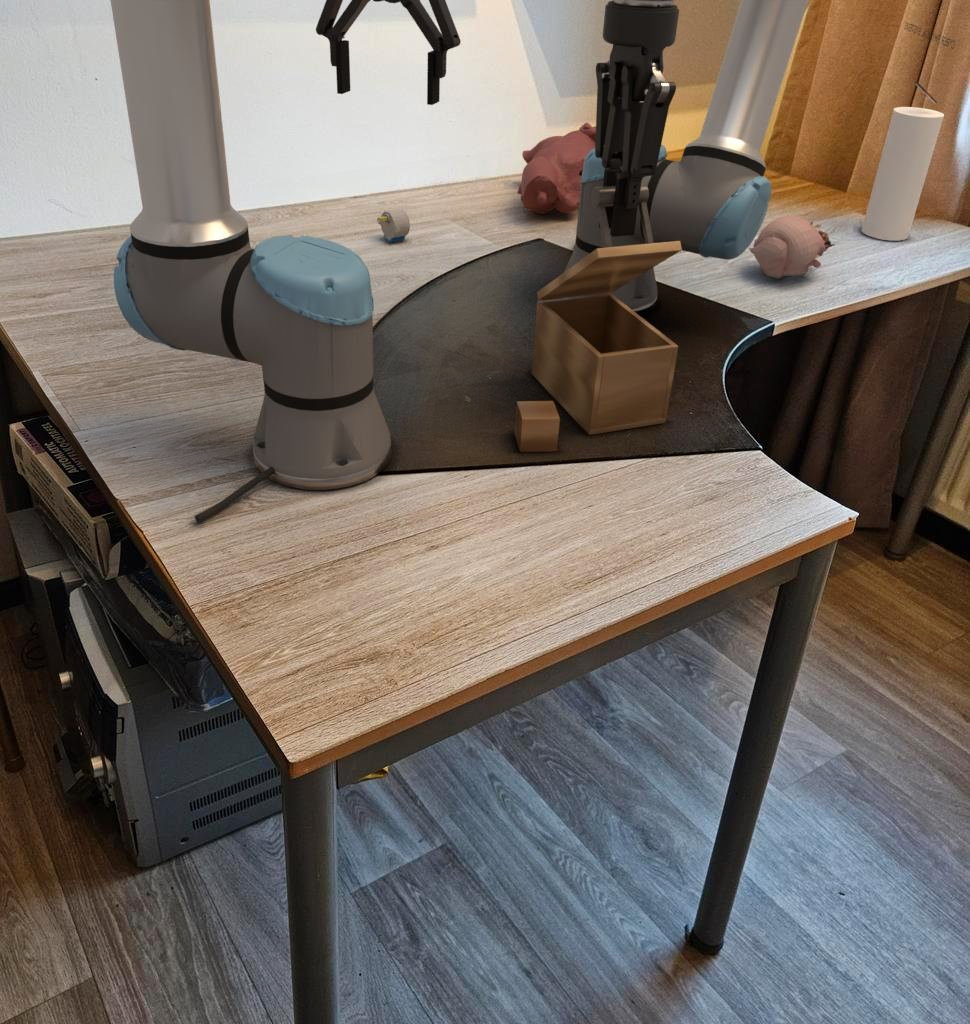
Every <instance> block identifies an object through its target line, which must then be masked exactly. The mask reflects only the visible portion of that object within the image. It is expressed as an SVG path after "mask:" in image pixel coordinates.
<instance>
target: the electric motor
mask: <svg viewBox="0 0 970 1024" xmlns="http://www.w3.org/2000/svg"><path fill="white" fill-rule="evenodd" d="M376 222H377V224H378V225H380V227H381V231H382V233H383V238H384V240H385V241H388V242H389V243H394V242H395V243H396V242H399V241H404V240H405V238H406V236H407V235H409V233H410V229H411V222H410V218H409V216H408V213H407V212H406V210H404V209H403V208H397V209H392V210H387V211H384V212H383V213H382V214H381V216H378V217H377V218H376Z"/></svg>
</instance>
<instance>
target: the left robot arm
mask: <svg viewBox="0 0 970 1024" xmlns="http://www.w3.org/2000/svg"><path fill="white" fill-rule="evenodd" d="M343 1H344V0H325V3H324V5H323V8H322V11H321V13H320V16H319V19H318V22H317V24H316V27H315V33H316V34H317V35H318V36H323V37H324V38H326V39H327V40H328V42H329V54H330V56H329V57H330V65H331V67H335V70H336V71H335V72H336V94H339V95H343V94H346V93H349V92H351V67H350V66H351V63H350V41H349V40H345V38H346V36H345V35H347V33H348V31H349V30H350V29H351V27H352V26H353V24H354V23H355V21H356V20H357V19H358V18H359V16H360V14H361V13H362V12H363V10H364V9H365V8H366V6H367V5H368V4H369V3H370V2H371V1H372V2H377V3H380V2H384V1H385V2H387V3H389V4H398V3H400V4H401V5H402V7H403V8H405V9H406V10H407V12H408V13H409V15H410V17H411V18H412V20H413V21H414V22H415V24H416V26H417V27H418V29H419V31H420V32H421V33H422V35H423V36H424V38H425V39H426V40H427V43H428V44H429V46H430V47H431V48H432V50H431V51H428V52H427V74H426V75H427V79H426V80H427V85H426V87H427V88H426V105H429V106H433V105H435V104H438V103H440V93H441V92H440V91H441V90H440V89H441V87H440V86H441V83H440V81H441V79H443V78H445V77H446V74H447V54H448V51H449V50H451V49H454V48H457V47H459V46H460V45H461V42H462V41H461V38H460V35H459V33H458V30H457V27H456V24H455V22H454V19H453V17H452V14H451V11H450V9H449V7H448V4H447V1H446V0H428V2H429V5H430V8H431V10H432V13H433V15H434V18H435V21H436V23H437V25H438V26H437V25H436V23H435V22H434V20H433V19H432V17H431V15H429V13H428V11H427V9H426V8H425V6H424V5H423V3H422V2H421V0H351V1H350V2H349V3H348V5H347V6H346V8H345V9H344V11H343V12H342V14H341V15H340V16H339V18H338V19H337V17H338V14H339V12H340V9H341V6H342V4H343ZM110 6H111V12H112V19H113V20H112V21H113V27H114V31H115V39H116V45H117V52H118V59H119V64H120V70H121V77H122V84H123V90H124V96H125V97H124V98H125V103H126V110H127V116H128V122H129V123H128V124H129V129H130V136H131V142H132V149H133V156H134V161H135V169H136V175H137V180H138V187H139V194H140V199H141V206H142V210H141V211H140V212H139V214H138V215H137V216H136V217H135V218H134V220H133V221H132V222H131V224H130V225H129V232H130V236H128V237H127V238H126V239H125V240H124V241H123V243H122V244H121V246H120V247H119V249H118V252H117V256H116V260H117V261H118V265H117V266H114V268H113V288H114V294H115V298H116V302H117V305H118V307H119V310H120V312H121V315H122V316H123V318H124V319H125V321H126V323H127V324H128V325H129V327H130V328H131V329H133V331H134V332H136V333H137V334H138V335H139V336H141V337H143V338H144V339H145V340H148V341H150V342H154V343H157V344H161V345H164V346H167V347H169V348H171V349H174V350H178V351H191V352H197V353H202V354H207V355H211V356H216V357H222V358H226V359H231V360H236V361H242V362H248V363H251V364H252V363H253V364H257V365H259V366H261V370H262V379H263V388H264V390H263V391H264V396H263V400H262V404H261V408H260V412H259V415H258V419H257V423H256V427H255V430H254V434H253V439H252V441H253V442H252V455H253V460H254V464H255V467H256V468H257V470H258V471H259V472H260V474H257V475H256V476H255V477H253V478H252V479H251V480H249V481H248V482H246V483H245V484H243V485H242V486H240V487H239V488H238V489H236V490H235V491H233V492H232V493H230V494H229V495H228V496H227V497H225V498H224V499H221V500H220V501H219V502H217V503H216V504H215V505H213V506H211V507H209V508H207V509H205V510H203V511H201V512H200V513H198V514H195V515H194V520H195V521H196V522H197V523H201V522H202V521H204V520H206V519H208V518H210V517H212V516H214V515H215V514H217V513H219V512H220V511H222V510H223V509H225V508H227V507H228V506H230V505H231V504H232V503H233V502H235V501H237V500H238V499H239V498H240V497H242V496H243V495H245V494H246V493H247V492H249V491H251V490H252V489H254V488H255V487H256V486H258V485H259V484H261V483H262V482H264V481H265V480H266V479H269V480H271V481H273V482H275V483H278V484H280V485H283V486H286V487H290V488H295V489H301V490H312V491H314V490H315V491H323V490H327V491H328V490H337V489H342V488H348V487H351V486H355V485H358V484H361V483H363V482H366V481H368V480H370V479H373V478H374V477H375V476H377V475H378V474H380V473H381V472H382V471H383V470H384V469H385V468H386V467H387V466H388V464H389V463H390V461H391V458H392V438H391V432H390V430H389V427H388V424H387V422H386V419H385V417H384V413H383V411H382V408H381V406H380V403H379V400H378V398H377V395H376V393H375V385H374V320H373V319H374V318H373V317H374V315H373V314H374V308H375V301H374V297H373V292H372V283H371V275H370V270H369V267H368V266H367V264H366V263H365V262H364V260H363V259H362V258H361V257H360V256H359V254H357V253H356V252H355V251H353V250H352V249H351V248H348V247H346V246H345V245H343V244H340V243H338V242H335V241H331V240H329V239H324V238H322V237H317V236H310V235H300V236H299V237H296V236H293V235H288V234H287V235H279V236H273V237H269V238H265V239H264V240H262V241H260V242H259V243H258V244H257V245H255V247H254V248H253V247H251V242H250V241H251V240H250V233H249V223H248V220H247V219H246V218H245V216H243V215H242V214H240V213H239V212H238V211H237V210H236V209H234V207H233V206H232V203H231V194H230V185H229V183H230V182H229V175H228V174H229V173H228V165H227V156H226V155H227V154H226V146H225V137H224V129H223V128H224V127H223V118H222V117H223V115H222V106H221V97H220V88H219V78H218V67H217V59H216V57H217V56H216V49H215V40H214V30H213V29H214V28H213V21H212V20H213V19H212V11H211V2H210V0H110ZM336 19H337V21H336Z"/></svg>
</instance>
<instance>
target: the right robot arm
mask: <svg viewBox="0 0 970 1024" xmlns="http://www.w3.org/2000/svg"><path fill="white" fill-rule="evenodd" d="M674 1H675V0H609V1H608V2H607V4H605V7H604V15H603V26H602V28H603V29H602V39H603V41H604V42H605V43H607V44H610V45H612V48H611V51H610V54H609V60H607V61H606V62H597V63H596V65H595V75H596V85H597V90H596V91H597V92H596V113H595V114H596V115H595V116H596V117H595V118H596V119H595V126H596V138H595V148H594V149H592V150H591V151H590V152H589V153H588V154H587V155H586V157H585V160H584V166H583V172H582V178H581V179H580V183H581V188H580V199H579V208H578V209H577V211H578V212H577V222H576V233H575V234H576V235H575V244H574V246H573V251H572V253H571V256H570V258H569V260H568V262H567V265H566V267H565V270H564V272H566V271H567V270H568V269H570V268H571V267H572V266H574V265H575V264H577V263H578V262H579V261H581V260H582V259H583V258H585V257H586V256H588V255H589V254H590V253H592V252H593V251H594V250H596V249H597V248H604V245H603V239H602V234H601V228H600V223H599V217H598V212H597V207H594V206H593V204H592V201H591V193H592V190H593V188H595V187H608V186H616V187H615V196H614V205H613V206H608V207H605V210H606V215H607V221H608V226H609V232H610V237H611V243H612V247H618V246H629V245H640V244H645V239H644V234H643V228H642V222H641V217H640V211H639V206H638V204H639V197H640V189H641V184H645V185H646V186H647V187H648V190H649V198H648V201H647V202H646V204H647V209H648V215H649V220H650V226H651V232H652V237H653V243H662V242H673V241H680V242H681V248H682V250H681V251H683V252H688V253H692V254H696V255H699V256H701V257H703V258H716V259H720V260H733V259H736V258H738V257H739V256H741V255H742V254H744V252H746V250H747V249H749V248H750V245H751V244H752V242H753V241H754V240H755V238H756V236H757V235H758V232H759V230H760V228H761V227H762V225H763V222H764V220H765V217H766V215H767V212H768V209H769V202H770V200H771V198H772V183H771V181H770V180H769V179H768V178H767V177H766V176H765V173H766V170H767V164H766V163H765V161H764V159H763V157H762V155H761V149H762V146H763V143H764V139H765V137H766V134H767V130H768V127H769V124H770V121H771V118H772V115H773V111H774V108H775V106H776V102H777V99H778V96H779V93H780V90H781V87H782V83H783V81H784V77H785V74H786V72H787V69H788V65H789V62H790V59H791V55H792V53H793V50H794V46H795V44H796V40H797V37H798V34H799V30H800V28H801V24H802V22H803V18H804V15H805V12H806V9H807V7H808V4H809V0H741V2H740V5H739V8H738V11H737V14H736V17H735V22H734V24H733V28H732V30H731V33H730V37H729V40H728V44H727V47H726V50H725V53H724V57H723V59H722V63H721V66H720V69H719V73H718V76H717V79H716V83H715V86H714V88H713V92H712V95H711V99H710V102H709V105H708V107H707V111H706V112H707V113H706V115H705V118H704V121H703V124H702V128H701V130H700V135H699V136H698V137H697V138H696V139H694V140H693V141H691V142H689V143H688V144H686V145H685V146H684V149H683V153H682V156H681V158H680V159H681V160H680V161H677V160H670V159H667V157H668V152H667V148H666V146H665V145H663V144H662V143H663V138H664V133H665V128H666V123H667V119H668V113H669V109H670V106H671V103H672V101H673V98H674V96H675V94H676V91H677V84H676V82H675V81H667V80H666V78H665V77H664V75H663V72H664V69H665V68H664V50H665V49H666V48H668V47H671V46H672V45H674V44H675V42H676V37H677V31H678V23H679V17H680V16H679V15H680V8H678V5H676V4H674ZM654 268H655V267H653V268H651V269H650V270H648V271H647V272H645V273H643V274H642V275H640V276H638V277H637V278H635V279H633V280H632V281H630V282H628V283H627V284H625V285H623V286H622V287H620V288H619V289H617V290H615V291H614V292H612V293H611V294H612V295H613V296H615V297H616V298H617V299H619V300H620V301H621V302H622V303H624V304H625V305H626V306H628V307H629V308H630V309H631V310H633V311H634V312H635V313H637V314H638V315H639V316H641V315H645V314H647V313H649V312H651V311H652V310H654V309H655V307H656V306H657V300H658V284H657V280H656V279H657V278H656V274H655V269H654ZM604 294H608V293H604ZM594 295H599V294H594ZM585 296H590V295H585ZM576 297H580V296H576ZM567 298H571V297H567ZM559 299H562V298H559Z"/></svg>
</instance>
